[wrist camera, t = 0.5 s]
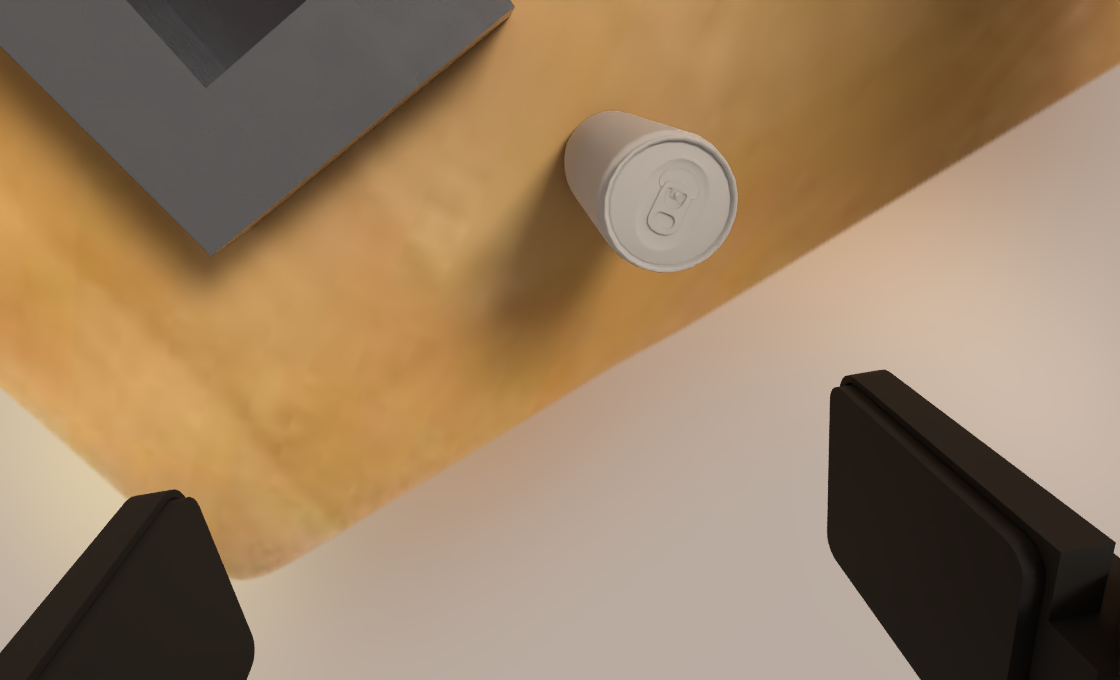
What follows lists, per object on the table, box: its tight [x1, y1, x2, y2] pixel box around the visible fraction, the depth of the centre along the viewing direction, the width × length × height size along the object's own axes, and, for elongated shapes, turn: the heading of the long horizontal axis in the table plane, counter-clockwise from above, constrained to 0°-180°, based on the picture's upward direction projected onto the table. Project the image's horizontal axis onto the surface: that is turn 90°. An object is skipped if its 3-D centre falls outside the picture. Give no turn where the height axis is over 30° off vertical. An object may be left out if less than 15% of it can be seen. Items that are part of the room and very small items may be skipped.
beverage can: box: [564, 111, 738, 272], centre depth 28 cm, size 5×5×12 cm
